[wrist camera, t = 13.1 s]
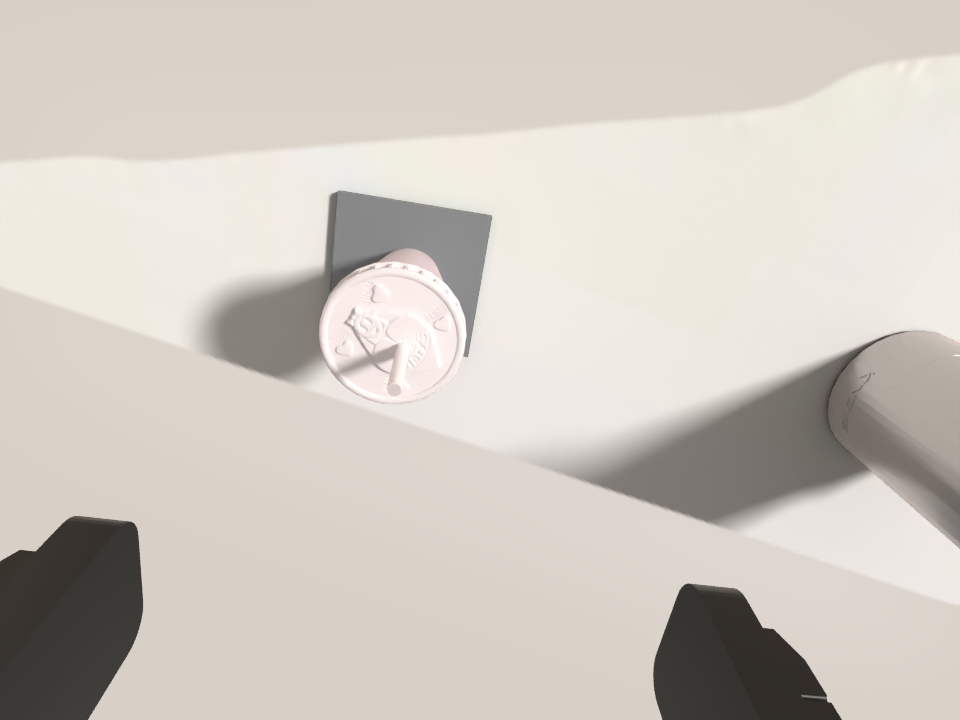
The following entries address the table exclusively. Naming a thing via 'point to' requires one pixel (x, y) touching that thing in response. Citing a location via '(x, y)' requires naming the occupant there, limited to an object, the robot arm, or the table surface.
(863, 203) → the table surface
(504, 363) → the table surface
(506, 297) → the table surface
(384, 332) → the smoothie
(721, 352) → the table surface
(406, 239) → the coaster
